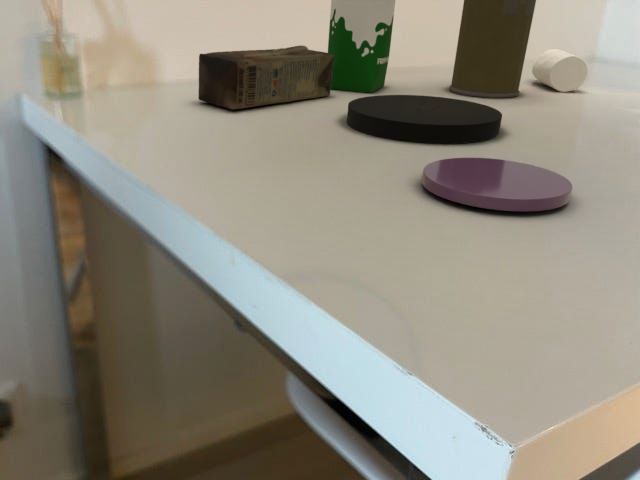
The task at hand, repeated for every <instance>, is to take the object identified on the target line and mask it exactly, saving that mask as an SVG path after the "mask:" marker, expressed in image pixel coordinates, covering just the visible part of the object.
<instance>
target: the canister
mask: <svg viewBox="0 0 640 480" xmlns="http://www.w3.org/2000/svg"><path fill="white" fill-rule="evenodd" d="M536 2H537V0H463V5H462V12H461V19H460V26H459V31H458V39H457V45H456V51H455V57H454V65H453V72H452V77H451V84H450V85H449V87H448V89H449V91H450V92H452V93H454V94H458V95H463V96H467V97H477V98H488V99H510V98H514V97H518V96H519V95H520V94H521V93H520V90H519V89H520V84H521V79H522V74H523V69H524V64H525V59H526V53H527V48H528V44H529V38H530V35H531V34H530V33H531V28H532V23H533V18H534V13H535V8H536Z"/></svg>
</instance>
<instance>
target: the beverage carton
mask: <svg viewBox="0 0 640 480" xmlns="http://www.w3.org/2000/svg"><path fill="white" fill-rule="evenodd" d="M333 62H334V55H333V54H330V53H328V52H326V51H321V50H320V51H318V50H313V49H309V48H308V46H306V45H294V46H289V47H286V48H285V47H280V48H271V49H247V50H231V51H228V50H227V51H214V52H207V53H199V55H198V100H199V101H202V102H204V103H208V104H211V105H214V106H218V107H222V108H226V109H229V110H232V111H233V110H241V109H247V108H254V107H263V106H266V105H268V106H269V105H275V104H282V103H288V102H289V103H290V102H295V101H302V100H309V99H316V98H323V97H324V98H325V97H329V96H330V95H331V90H332V89H331V85H332V77H333Z"/></svg>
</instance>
